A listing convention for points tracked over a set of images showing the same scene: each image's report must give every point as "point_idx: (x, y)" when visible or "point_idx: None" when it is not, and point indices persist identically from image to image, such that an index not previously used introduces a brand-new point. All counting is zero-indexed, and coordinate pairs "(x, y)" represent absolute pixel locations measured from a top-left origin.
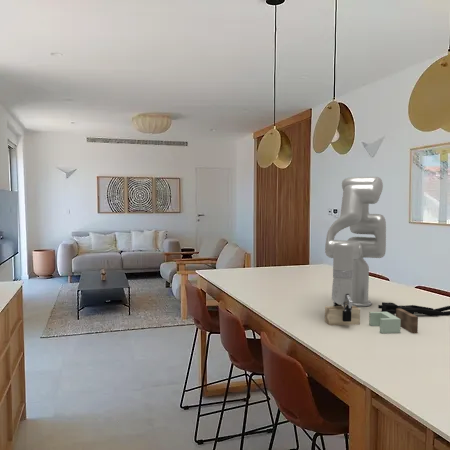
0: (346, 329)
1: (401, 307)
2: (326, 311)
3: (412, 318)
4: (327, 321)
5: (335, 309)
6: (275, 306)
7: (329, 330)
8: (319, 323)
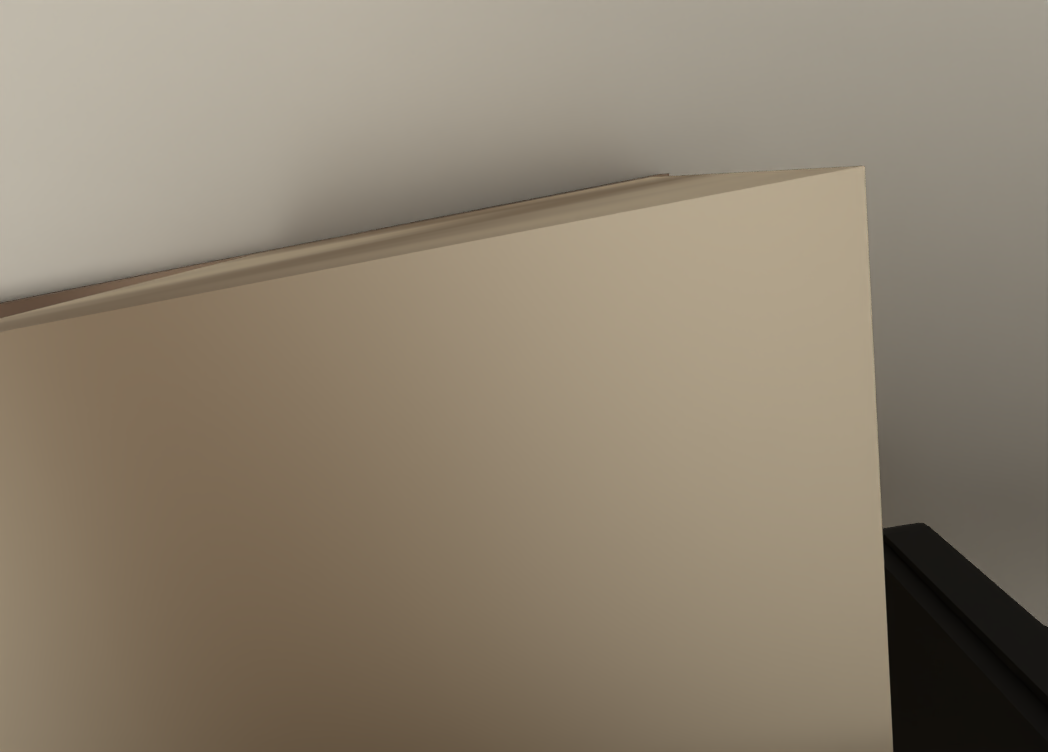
0: None
1: None
2: (490, 220)
3: None
4: (405, 226)
5: (27, 737)
6: None
7: (13, 211)
8: (622, 16)
